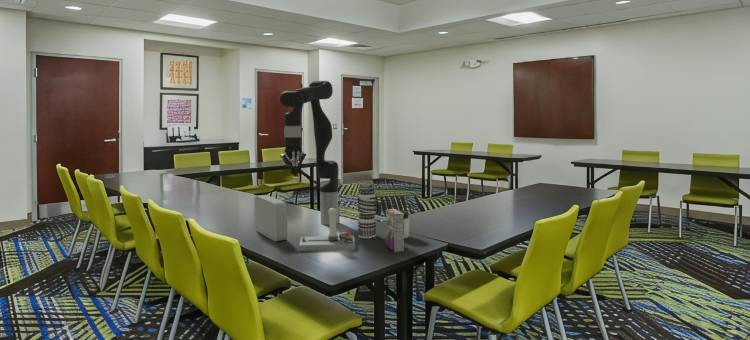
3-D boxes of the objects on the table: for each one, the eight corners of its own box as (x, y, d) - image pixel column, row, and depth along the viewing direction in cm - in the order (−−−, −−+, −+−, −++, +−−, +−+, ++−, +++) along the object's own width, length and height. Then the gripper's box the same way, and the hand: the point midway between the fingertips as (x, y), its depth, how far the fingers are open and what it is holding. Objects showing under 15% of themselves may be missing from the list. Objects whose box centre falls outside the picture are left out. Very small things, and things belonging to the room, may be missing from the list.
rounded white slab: (292, 240, 218) (291, 202, 216) (276, 242, 214) (275, 203, 211) (269, 228, 241) (268, 193, 239) (255, 230, 237) (254, 195, 235)
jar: (388, 238, 220) (388, 213, 219) (393, 234, 228) (392, 209, 227) (407, 239, 218) (407, 214, 216) (410, 235, 225) (411, 210, 224)
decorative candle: (374, 233, 230) (374, 182, 227) (378, 238, 221) (378, 185, 218) (356, 234, 228) (355, 183, 225) (359, 239, 219) (358, 186, 216)
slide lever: (337, 237, 210) (337, 206, 208) (337, 240, 206) (337, 208, 204) (328, 237, 210) (328, 206, 208) (328, 240, 205) (327, 208, 204)
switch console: (354, 241, 216) (354, 232, 215) (355, 249, 202) (355, 240, 201) (301, 242, 214) (301, 233, 214) (298, 251, 200) (298, 241, 200)
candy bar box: (385, 245, 208) (385, 209, 206) (396, 244, 209) (396, 208, 207) (393, 252, 197) (393, 214, 195) (404, 251, 199) (404, 213, 197)
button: (346, 235, 214) (345, 231, 214) (351, 237, 212) (351, 232, 212) (339, 237, 212) (339, 232, 212) (345, 238, 209) (345, 234, 209)
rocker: (351, 240, 206) (352, 237, 206) (351, 242, 203) (352, 239, 203) (338, 236, 206) (339, 233, 206) (338, 239, 202) (339, 235, 202)
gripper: (285, 136, 202) (286, 176, 204) (310, 135, 212) (310, 174, 214) (275, 136, 208) (276, 175, 210) (300, 135, 217) (301, 172, 219)
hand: (293, 174), depth 212 cm, fingers closed
